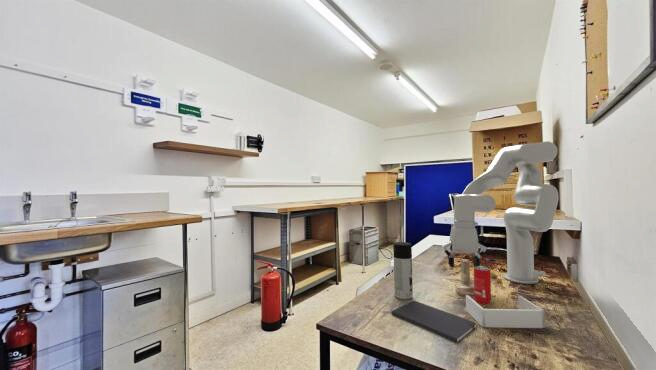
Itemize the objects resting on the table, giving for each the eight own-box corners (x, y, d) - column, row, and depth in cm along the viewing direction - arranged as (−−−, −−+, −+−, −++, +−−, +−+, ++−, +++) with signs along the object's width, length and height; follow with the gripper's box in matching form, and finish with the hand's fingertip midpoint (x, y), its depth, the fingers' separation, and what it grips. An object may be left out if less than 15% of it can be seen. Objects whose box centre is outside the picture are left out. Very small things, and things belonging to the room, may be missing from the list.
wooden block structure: (478, 286, 111) (477, 259, 112) (490, 294, 102) (489, 265, 103) (448, 285, 112) (448, 259, 112) (457, 294, 103) (457, 265, 103)
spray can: (413, 300, 98) (412, 245, 98) (394, 299, 99) (393, 244, 100) (411, 293, 105) (410, 241, 105) (393, 292, 106) (393, 241, 106)
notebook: (391, 315, 88) (457, 344, 72) (391, 310, 88) (457, 338, 72) (413, 304, 96) (477, 328, 80) (413, 300, 96) (477, 323, 80)
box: (521, 311, 89) (520, 295, 89) (545, 328, 78) (545, 310, 78) (466, 310, 90) (465, 295, 90) (482, 327, 79) (482, 310, 79)
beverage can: (471, 299, 99) (470, 266, 99) (484, 298, 99) (484, 265, 99) (480, 305, 94) (479, 270, 94) (494, 304, 94) (493, 270, 94)
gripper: (481, 224, 113) (481, 265, 113) (439, 223, 114) (438, 263, 114) (491, 226, 106) (490, 270, 105) (445, 225, 107) (445, 269, 106)
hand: (463, 267), depth 110 cm, fingers open, 9 cm apart
